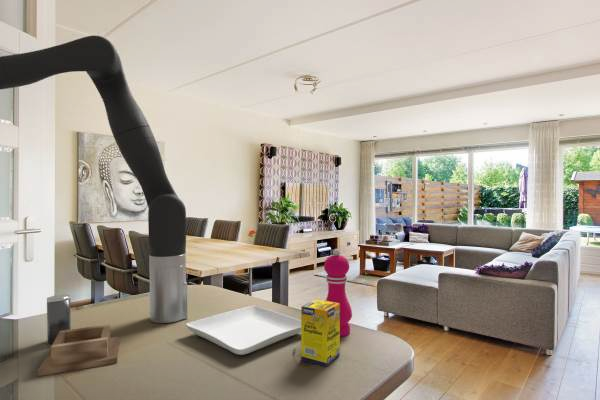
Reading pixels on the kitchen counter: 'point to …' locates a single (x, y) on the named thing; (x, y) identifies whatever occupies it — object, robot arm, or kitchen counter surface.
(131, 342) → the kitchen counter surface
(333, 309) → the supplement box
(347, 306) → the pepper mill
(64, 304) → the dark grey piece
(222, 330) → the salad plate
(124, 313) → the kitchen counter surface
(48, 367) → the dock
